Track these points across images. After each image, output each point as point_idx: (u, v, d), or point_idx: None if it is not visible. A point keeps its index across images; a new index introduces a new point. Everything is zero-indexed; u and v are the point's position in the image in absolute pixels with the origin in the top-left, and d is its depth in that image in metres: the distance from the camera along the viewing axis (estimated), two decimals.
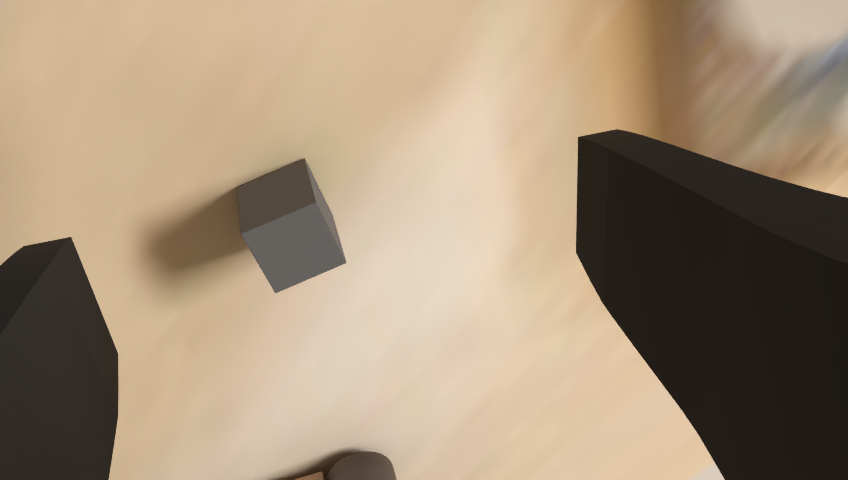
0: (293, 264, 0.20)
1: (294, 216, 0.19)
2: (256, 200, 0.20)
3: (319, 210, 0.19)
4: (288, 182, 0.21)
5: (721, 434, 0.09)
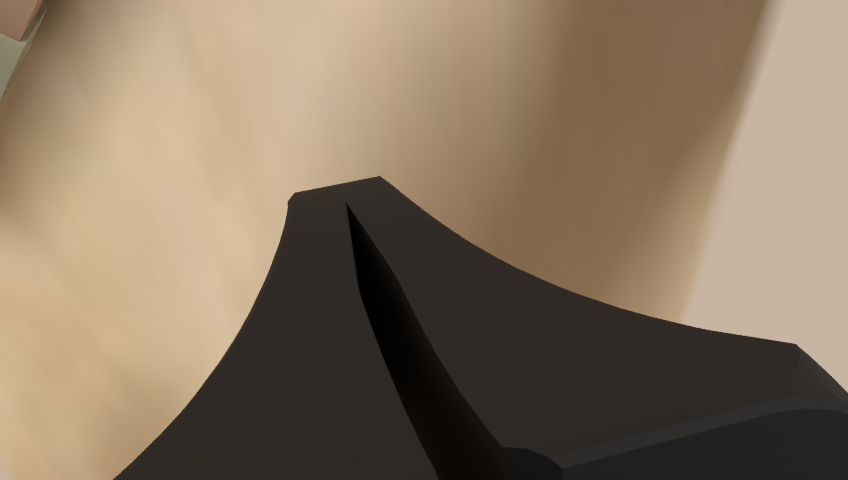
0: None
1: None
2: None
3: None
4: None
5: None
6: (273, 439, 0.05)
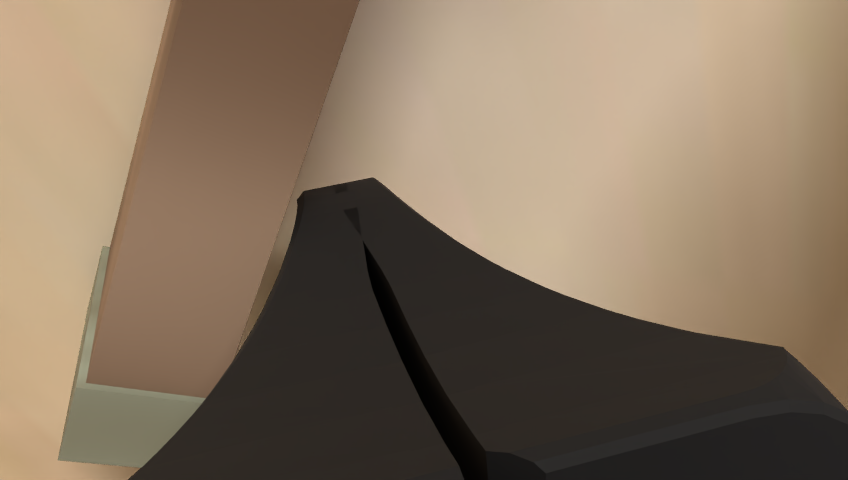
0: None
1: None
2: None
3: None
4: None
5: None
6: (292, 434, 0.05)
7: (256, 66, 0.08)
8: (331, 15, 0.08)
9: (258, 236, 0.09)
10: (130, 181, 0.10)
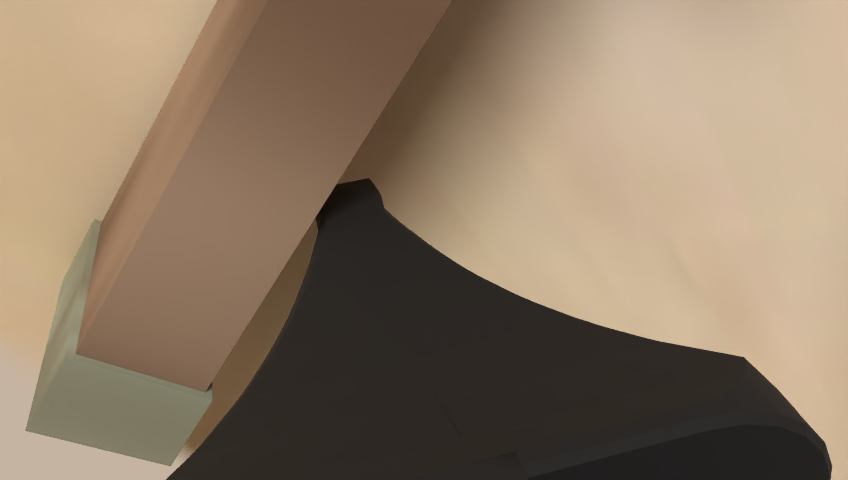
0: None
1: None
2: None
3: None
4: None
5: None
6: (340, 423, 0.05)
7: (326, 65, 0.08)
8: (408, 32, 0.08)
9: (285, 233, 0.09)
10: (153, 157, 0.10)
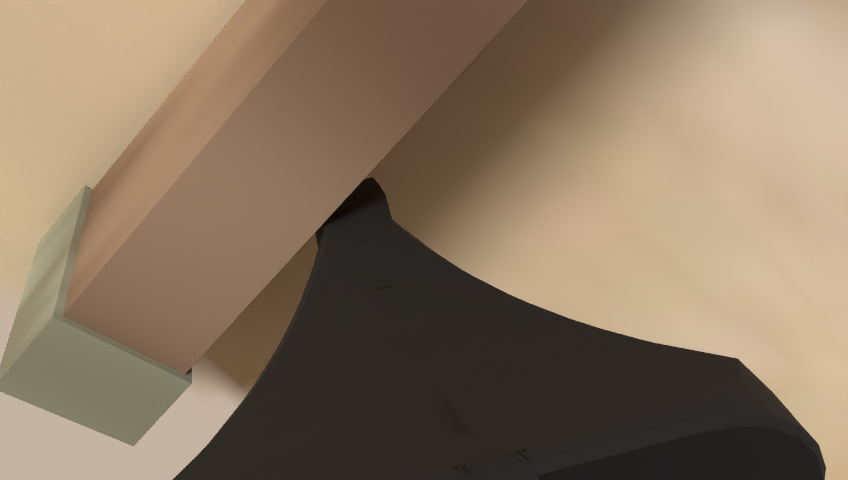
0: None
1: None
2: None
3: None
4: None
5: None
6: (348, 421, 0.05)
7: (374, 67, 0.08)
8: (457, 49, 0.08)
9: (299, 225, 0.09)
10: (170, 131, 0.10)
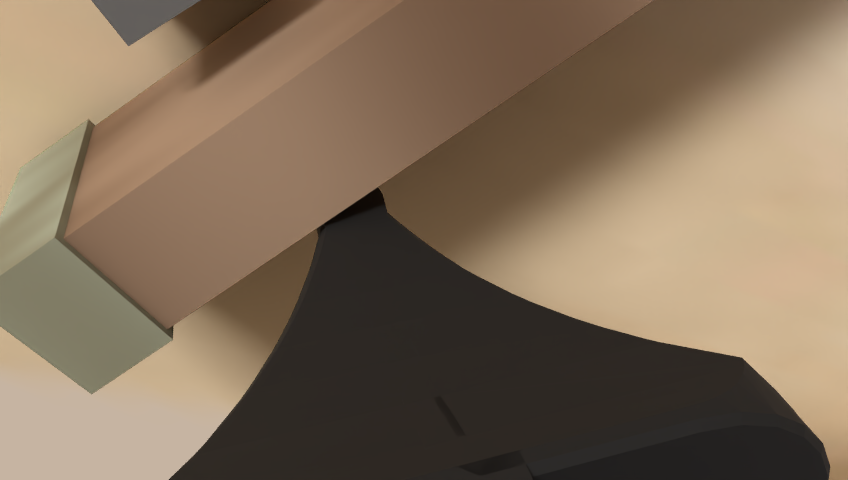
0: None
1: None
2: None
3: None
4: None
5: None
6: (343, 422, 0.05)
7: (445, 63, 0.08)
8: (524, 66, 0.09)
9: (328, 201, 0.09)
10: (208, 81, 0.09)
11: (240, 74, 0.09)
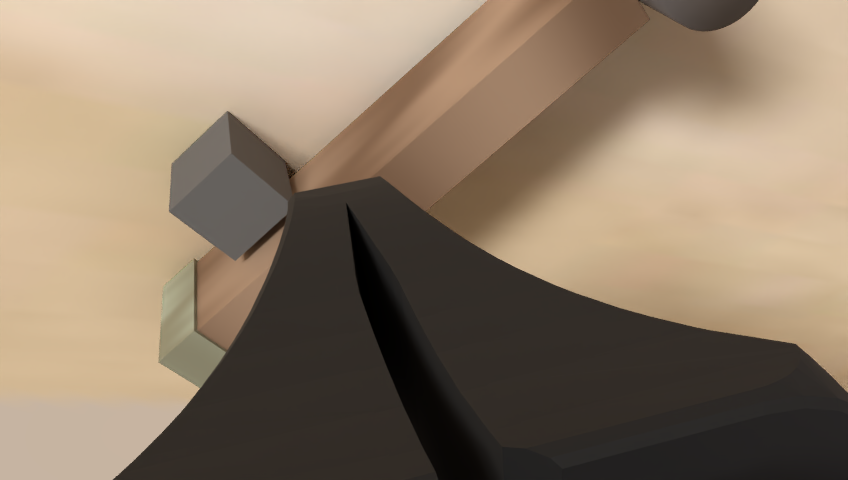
0: (253, 203, 0.18)
1: (195, 224, 0.18)
2: None
3: (177, 204, 0.18)
4: None
5: None
6: (273, 439, 0.05)
7: None
8: None
9: None
10: None
11: (266, 242, 0.19)
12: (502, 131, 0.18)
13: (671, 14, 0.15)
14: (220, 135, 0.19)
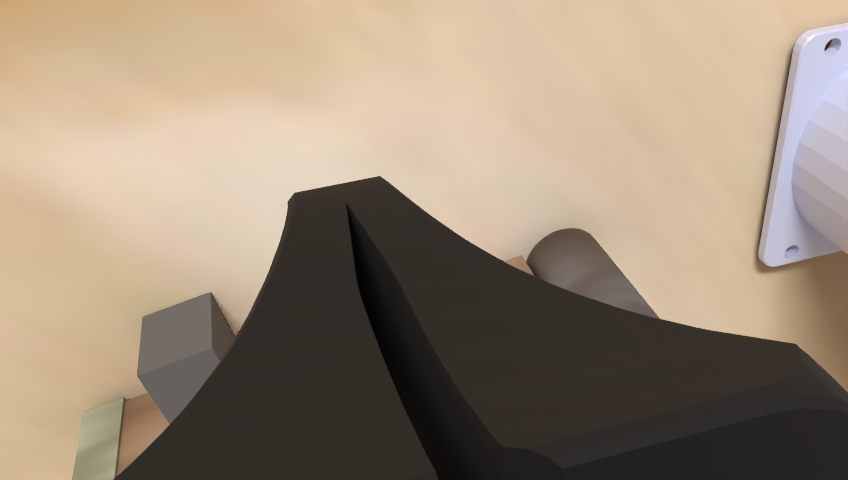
0: None
1: (153, 390, 0.20)
2: None
3: (147, 371, 0.20)
4: None
5: None
6: (273, 439, 0.05)
7: None
8: None
9: None
10: None
11: None
12: None
13: None
14: (201, 317, 0.21)
